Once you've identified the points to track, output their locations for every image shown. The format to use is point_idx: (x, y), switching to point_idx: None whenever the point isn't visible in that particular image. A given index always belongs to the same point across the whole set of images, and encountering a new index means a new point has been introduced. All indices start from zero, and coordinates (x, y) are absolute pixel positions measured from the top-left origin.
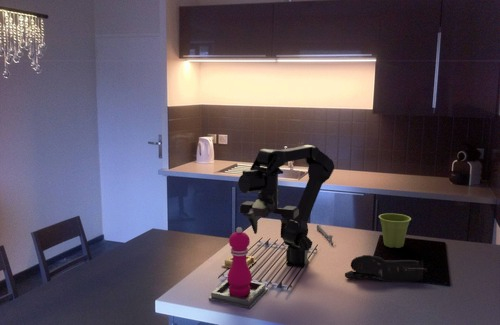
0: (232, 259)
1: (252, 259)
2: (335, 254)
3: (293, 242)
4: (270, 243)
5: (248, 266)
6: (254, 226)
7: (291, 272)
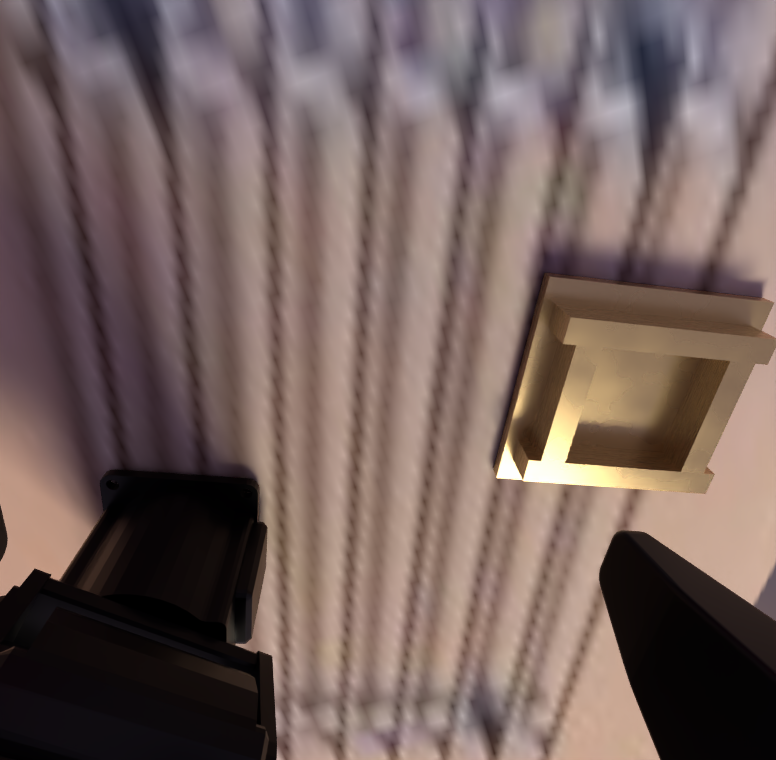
0: (701, 399)
1: (530, 451)
2: None
3: (65, 625)
4: (468, 734)
5: (539, 344)
6: (765, 672)
7: (161, 366)
